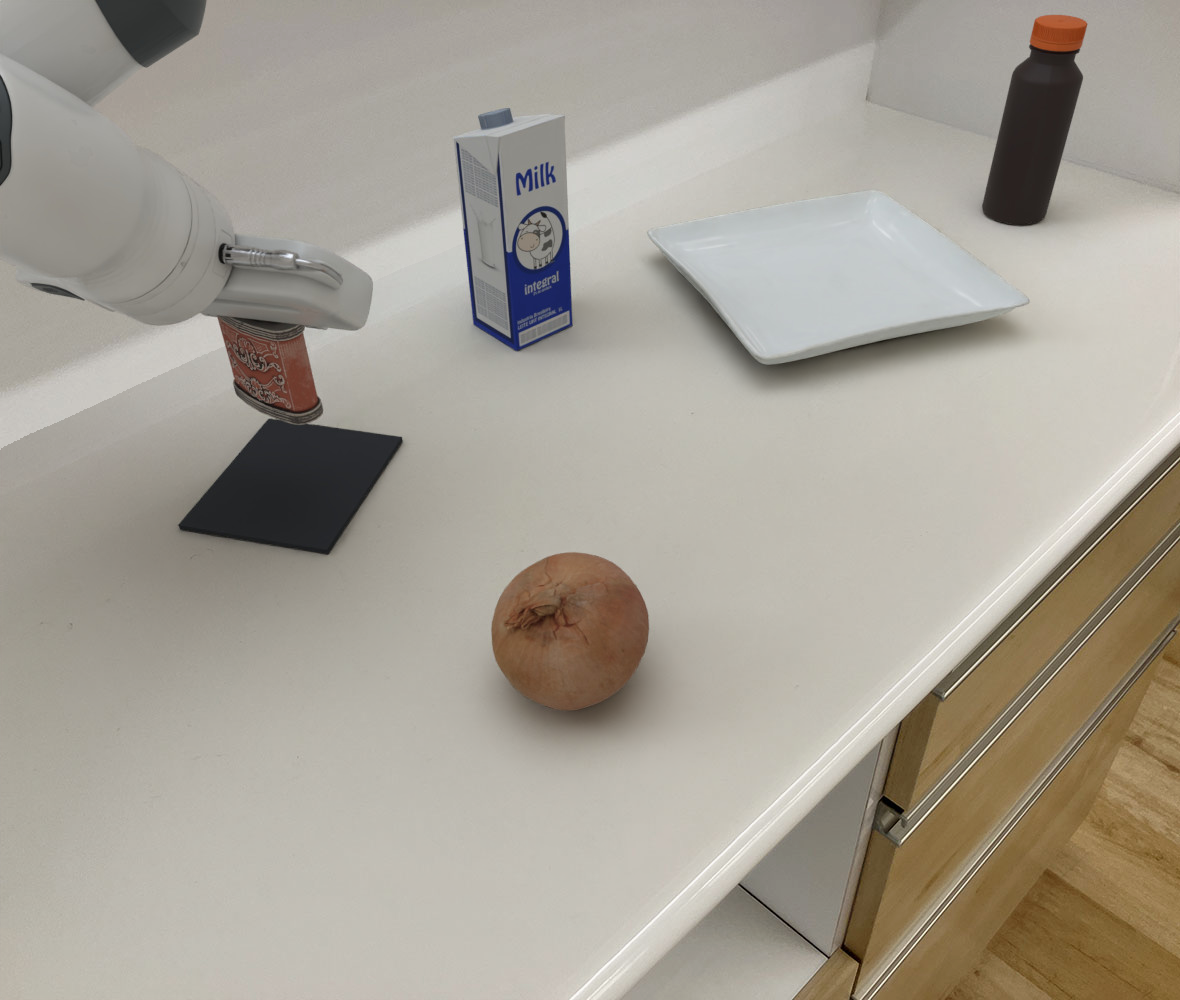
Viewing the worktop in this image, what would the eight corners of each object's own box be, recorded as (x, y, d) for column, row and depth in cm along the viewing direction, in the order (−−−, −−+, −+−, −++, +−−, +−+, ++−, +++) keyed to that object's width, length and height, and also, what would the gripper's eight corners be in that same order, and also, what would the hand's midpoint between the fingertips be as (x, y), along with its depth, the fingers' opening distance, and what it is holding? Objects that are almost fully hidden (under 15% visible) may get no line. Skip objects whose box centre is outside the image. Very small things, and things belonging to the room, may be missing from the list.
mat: (179, 530, 77) (177, 525, 77) (269, 422, 88) (268, 418, 87) (328, 554, 75) (327, 549, 74) (403, 441, 85) (402, 436, 85)
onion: (553, 754, 65) (498, 711, 56) (500, 628, 69) (442, 570, 61) (689, 683, 64) (655, 628, 56) (627, 561, 69) (587, 494, 61)
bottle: (993, 195, 119) (1037, 8, 107) (1053, 209, 116) (1106, 18, 104) (972, 216, 115) (1015, 24, 103) (1034, 231, 112) (1086, 35, 99)
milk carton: (515, 352, 95) (498, 134, 83) (471, 325, 99) (448, 113, 87) (574, 325, 99) (566, 112, 86) (529, 300, 103) (516, 92, 90)
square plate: (872, 217, 116) (877, 183, 113) (1026, 335, 96) (1037, 297, 93) (643, 257, 110) (643, 222, 107) (756, 393, 89) (759, 354, 87)
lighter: (334, 408, 75) (307, 281, 68) (297, 431, 72) (266, 302, 66) (261, 373, 78) (229, 250, 72) (224, 394, 76) (188, 268, 70)
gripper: (326, 205, 58) (414, 283, 72) (13, 177, 62) (151, 255, 76) (306, 315, 58) (399, 372, 71) (-9, 279, 62) (135, 340, 75)
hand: (269, 312), depth 74 cm, fingers closed on lighter, 6 cm apart
